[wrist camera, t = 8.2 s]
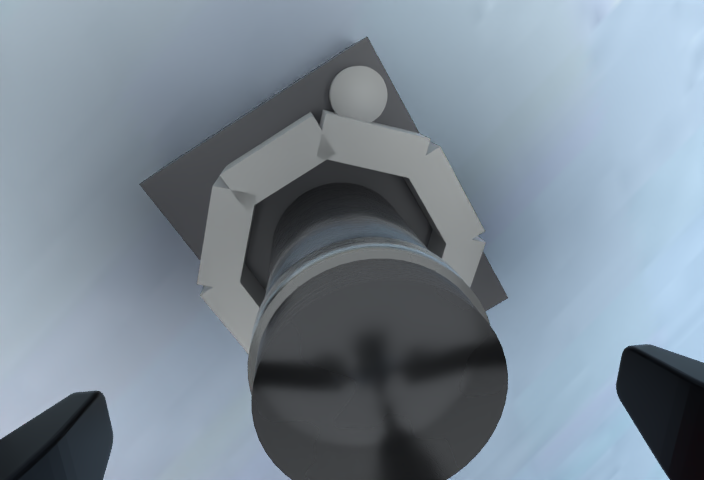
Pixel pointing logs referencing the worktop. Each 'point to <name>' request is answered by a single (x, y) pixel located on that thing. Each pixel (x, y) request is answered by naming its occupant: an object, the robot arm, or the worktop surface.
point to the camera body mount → (313, 182)
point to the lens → (369, 348)
